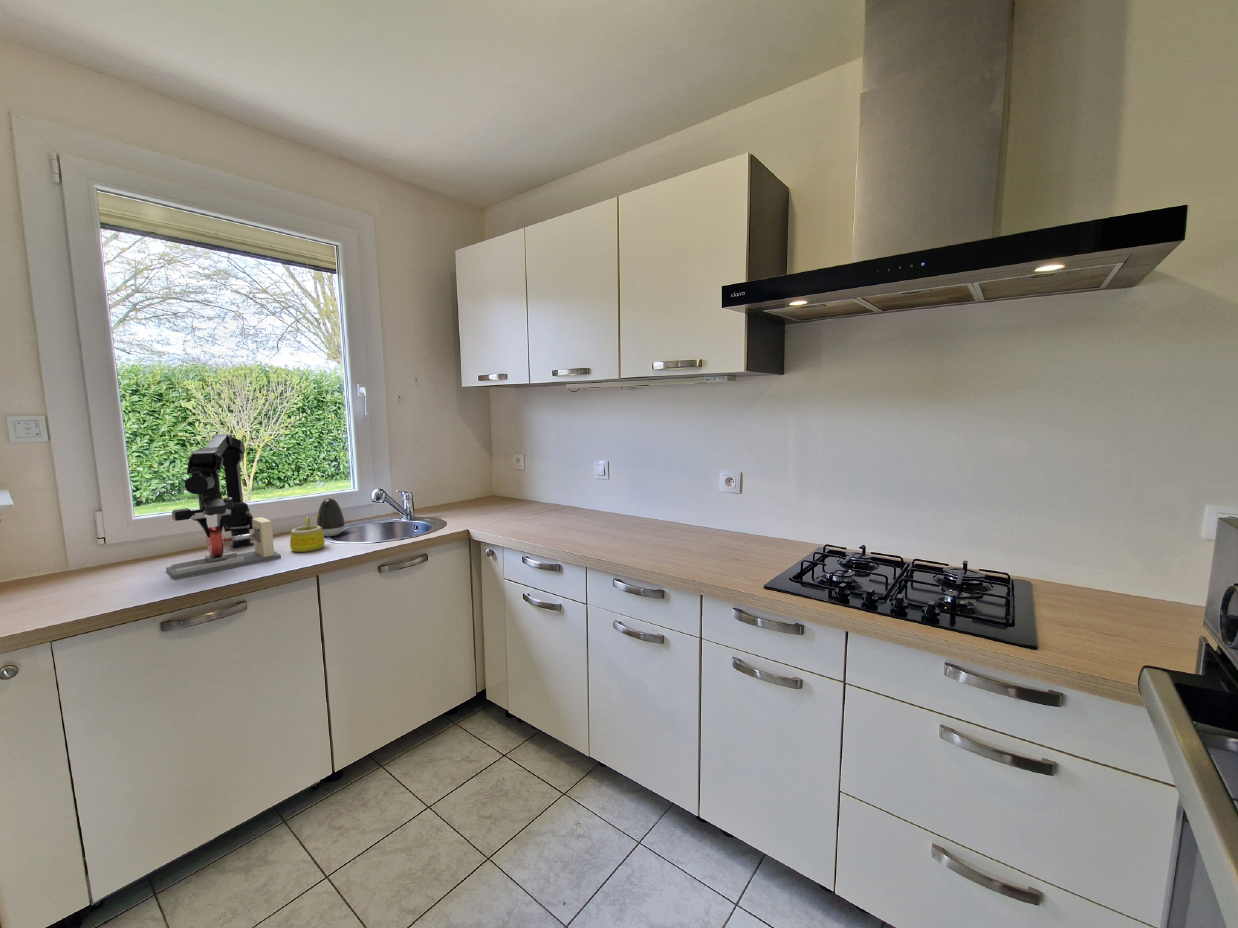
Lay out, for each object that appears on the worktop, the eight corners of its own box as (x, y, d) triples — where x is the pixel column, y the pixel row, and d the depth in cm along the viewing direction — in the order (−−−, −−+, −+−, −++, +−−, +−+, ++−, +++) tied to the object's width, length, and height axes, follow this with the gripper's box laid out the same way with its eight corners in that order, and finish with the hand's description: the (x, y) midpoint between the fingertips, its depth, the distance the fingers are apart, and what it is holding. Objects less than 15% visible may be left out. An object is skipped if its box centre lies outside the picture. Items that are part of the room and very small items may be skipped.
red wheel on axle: (204, 560, 166) (200, 526, 165) (263, 549, 179) (260, 517, 177) (211, 566, 160) (207, 530, 158) (271, 554, 172) (268, 521, 171)
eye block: (166, 571, 160) (161, 530, 159) (269, 551, 181) (266, 515, 180) (174, 579, 152) (169, 537, 150) (280, 558, 173) (277, 520, 171)
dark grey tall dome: (313, 538, 199) (310, 501, 197) (321, 532, 209) (318, 496, 207) (341, 536, 201) (339, 499, 200) (348, 530, 211) (345, 495, 210)
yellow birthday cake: (309, 554, 178) (306, 521, 176) (283, 552, 180) (280, 520, 178) (336, 544, 190) (334, 513, 189) (311, 543, 192) (309, 512, 191)
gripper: (176, 496, 150) (181, 546, 151) (251, 488, 164) (255, 534, 166) (169, 492, 157) (174, 540, 158) (241, 485, 171) (245, 529, 173)
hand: (214, 536), depth 164 cm, fingers closed on red wheel on axle, 2 cm apart
